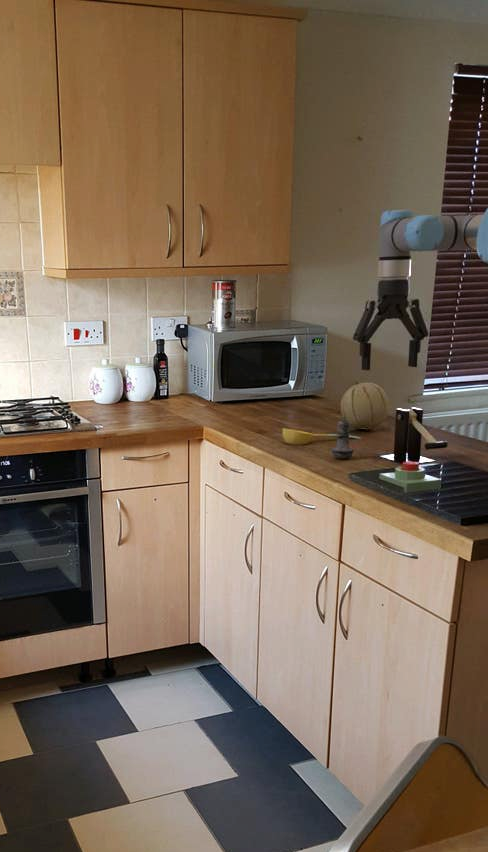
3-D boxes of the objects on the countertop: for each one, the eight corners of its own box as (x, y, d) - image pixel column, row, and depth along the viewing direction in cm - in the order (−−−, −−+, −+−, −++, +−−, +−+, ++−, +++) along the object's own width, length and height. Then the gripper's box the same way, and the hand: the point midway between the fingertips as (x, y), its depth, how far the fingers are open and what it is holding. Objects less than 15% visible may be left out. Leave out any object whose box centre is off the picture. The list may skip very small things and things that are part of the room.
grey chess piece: (330, 464, 225) (332, 418, 221) (330, 460, 230) (332, 414, 226) (354, 465, 224) (356, 418, 220) (353, 460, 229) (355, 414, 225)
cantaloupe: (389, 433, 266) (391, 383, 261) (340, 433, 269) (341, 384, 264) (386, 425, 280) (388, 378, 275) (339, 425, 283) (341, 378, 278)
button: (421, 471, 198) (422, 463, 197) (408, 472, 197) (408, 465, 196) (412, 468, 201) (412, 460, 200) (398, 469, 200) (399, 462, 199)
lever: (445, 450, 212) (449, 442, 211) (426, 452, 211) (429, 444, 209) (414, 416, 223) (417, 408, 221) (395, 418, 221) (398, 410, 219)
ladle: (274, 442, 252) (278, 422, 251) (354, 456, 261) (359, 436, 259) (287, 446, 244) (291, 425, 243) (369, 460, 252) (374, 440, 251)
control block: (440, 489, 196) (441, 471, 195) (406, 493, 194) (407, 475, 192) (412, 479, 206) (413, 462, 205) (378, 483, 204) (379, 466, 202)
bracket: (435, 466, 220) (439, 410, 216) (404, 469, 217) (408, 413, 213) (407, 457, 231) (411, 405, 226) (378, 460, 228) (381, 407, 224)
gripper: (428, 277, 220) (422, 364, 226) (340, 280, 212) (337, 370, 219) (446, 277, 213) (440, 366, 220) (357, 280, 205) (353, 372, 212)
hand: (389, 368), depth 219 cm, fingers open, 13 cm apart
